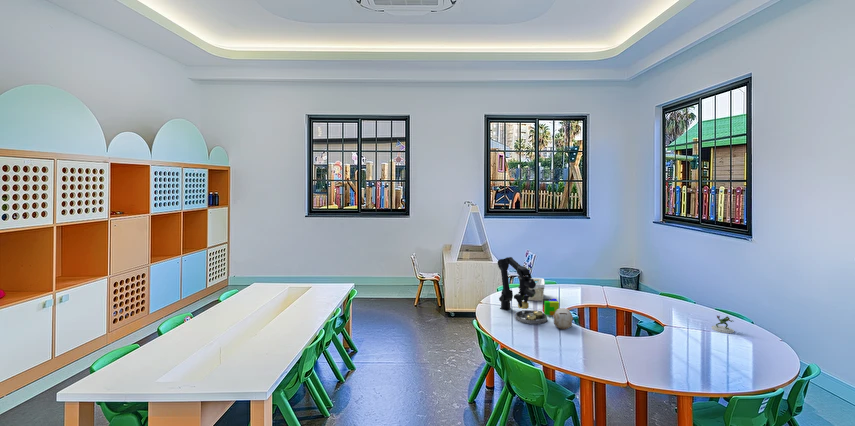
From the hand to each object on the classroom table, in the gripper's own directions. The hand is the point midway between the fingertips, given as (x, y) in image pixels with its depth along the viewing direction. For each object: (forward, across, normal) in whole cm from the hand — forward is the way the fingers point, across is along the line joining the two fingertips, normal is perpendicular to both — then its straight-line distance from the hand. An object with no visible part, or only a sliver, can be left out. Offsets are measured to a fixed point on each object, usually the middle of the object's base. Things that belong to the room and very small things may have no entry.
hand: (523, 306), depth 286 cm
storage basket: (+9, +52, +16) cm, 55 cm away
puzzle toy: (+9, +21, -12) cm, 26 cm away
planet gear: (+1, 0, 0) cm, 1 cm away
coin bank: (+9, +2, -29) cm, 31 cm away
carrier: (+8, 0, -6) cm, 10 cm away
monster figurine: (+8, +61, -114) cm, 130 cm away
